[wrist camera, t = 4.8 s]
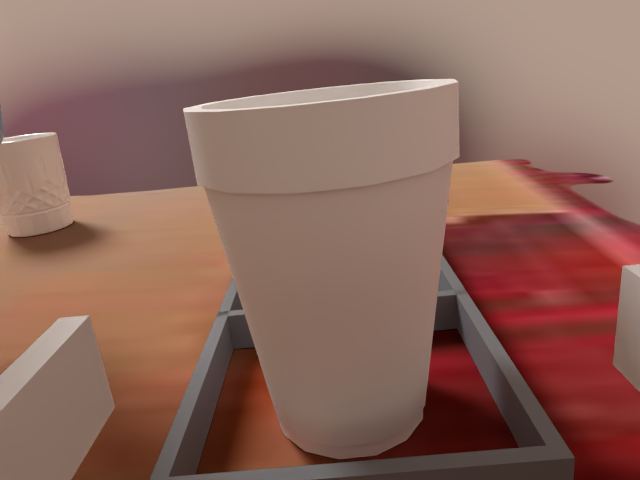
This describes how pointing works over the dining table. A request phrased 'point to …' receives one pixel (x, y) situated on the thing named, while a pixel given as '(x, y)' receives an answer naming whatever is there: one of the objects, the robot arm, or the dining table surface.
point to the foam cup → (335, 247)
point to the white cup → (33, 185)
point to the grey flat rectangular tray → (383, 474)
